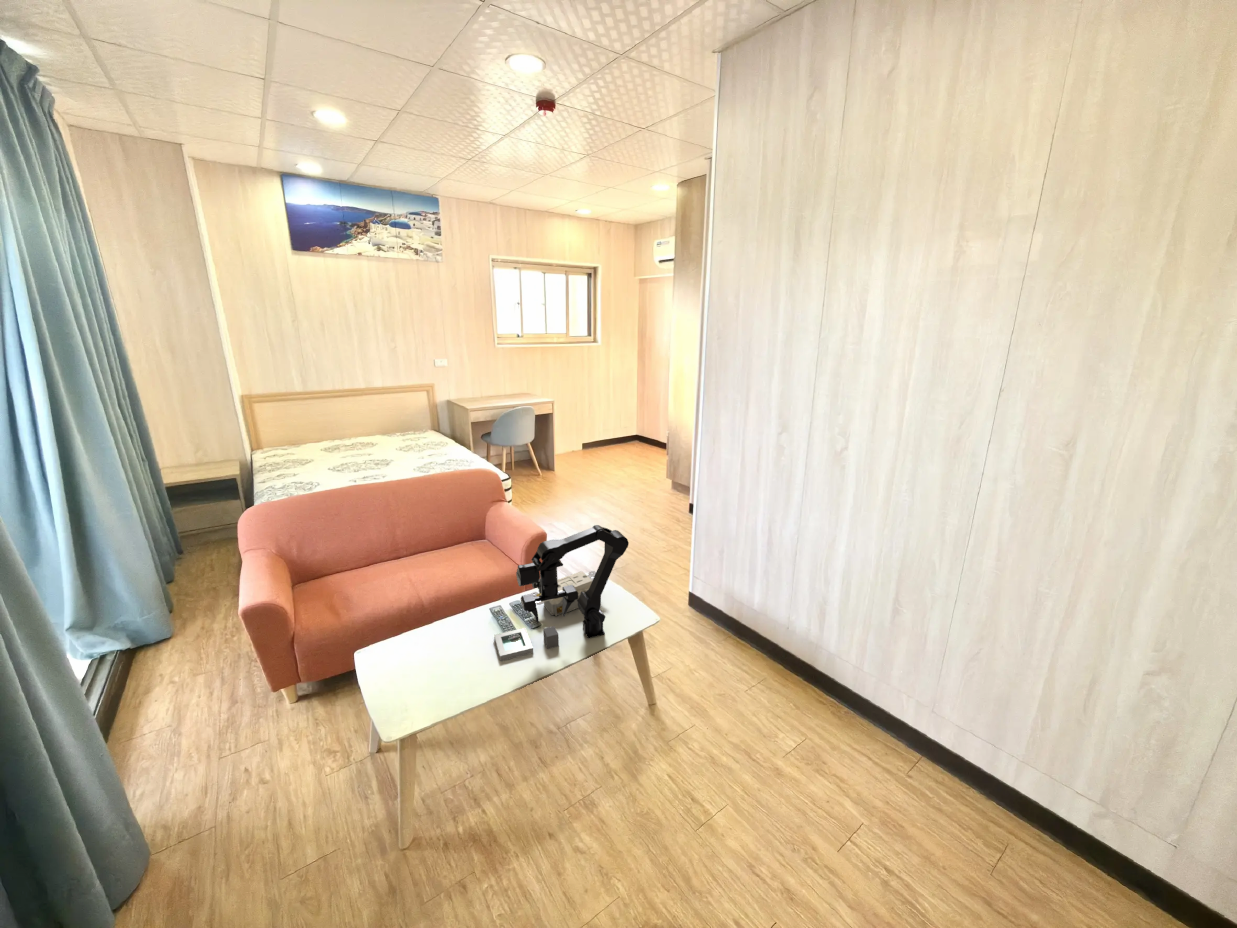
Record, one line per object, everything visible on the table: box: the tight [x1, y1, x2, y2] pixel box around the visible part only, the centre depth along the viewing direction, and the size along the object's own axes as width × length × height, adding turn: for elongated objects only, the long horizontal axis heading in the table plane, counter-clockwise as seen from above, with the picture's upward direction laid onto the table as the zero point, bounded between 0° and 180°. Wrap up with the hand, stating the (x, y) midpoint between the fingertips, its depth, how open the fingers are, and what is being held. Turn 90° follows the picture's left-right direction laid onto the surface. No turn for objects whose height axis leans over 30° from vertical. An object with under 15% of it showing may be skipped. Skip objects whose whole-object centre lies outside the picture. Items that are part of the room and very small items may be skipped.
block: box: [542, 625, 560, 650], centre depth 168 cm, size 4×5×5 cm
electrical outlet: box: [530, 570, 597, 617], centre depth 190 cm, size 12×28×10 cm, turn 122°
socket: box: [493, 627, 534, 662], centre depth 166 cm, size 11×12×2 cm
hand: (550, 618), depth 166 cm, fingers open, 9 cm apart
